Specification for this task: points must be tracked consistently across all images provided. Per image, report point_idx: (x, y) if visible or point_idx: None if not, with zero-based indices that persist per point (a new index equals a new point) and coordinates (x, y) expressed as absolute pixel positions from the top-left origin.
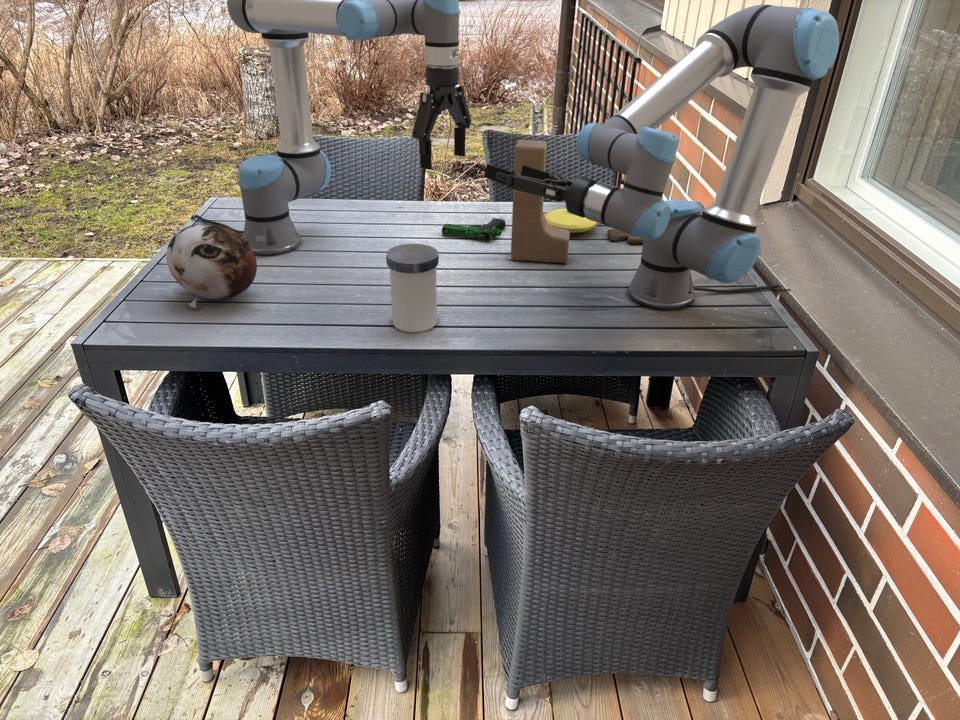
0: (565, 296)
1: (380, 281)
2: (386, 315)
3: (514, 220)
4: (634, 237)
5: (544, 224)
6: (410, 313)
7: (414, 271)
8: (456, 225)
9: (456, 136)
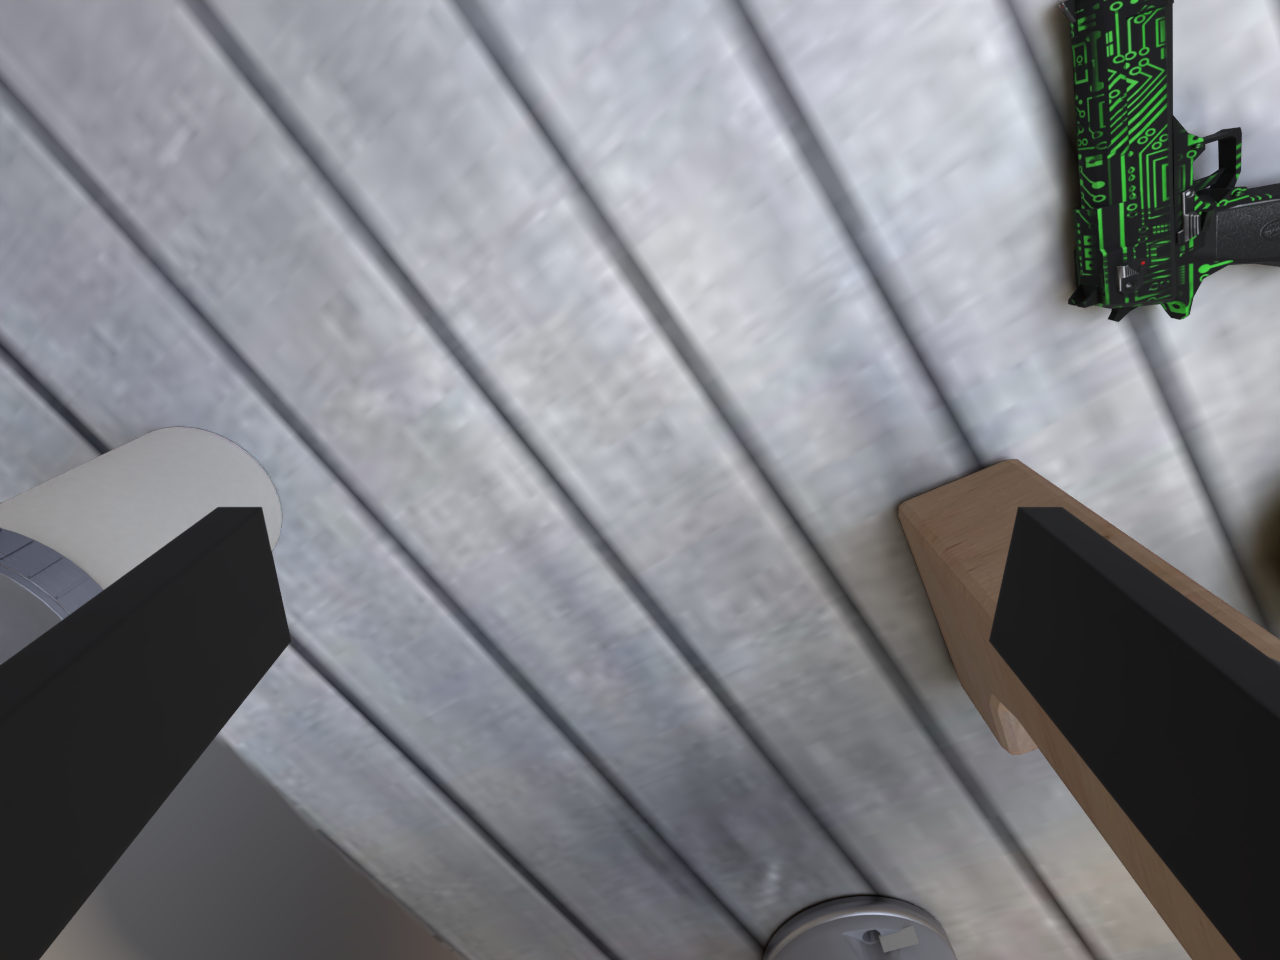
0: (700, 780)
1: (350, 133)
2: (149, 388)
3: (977, 610)
4: None
5: None
6: None
7: None
8: (1157, 50)
9: (1207, 723)
